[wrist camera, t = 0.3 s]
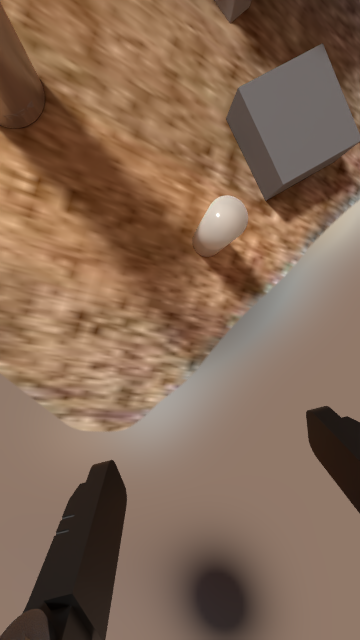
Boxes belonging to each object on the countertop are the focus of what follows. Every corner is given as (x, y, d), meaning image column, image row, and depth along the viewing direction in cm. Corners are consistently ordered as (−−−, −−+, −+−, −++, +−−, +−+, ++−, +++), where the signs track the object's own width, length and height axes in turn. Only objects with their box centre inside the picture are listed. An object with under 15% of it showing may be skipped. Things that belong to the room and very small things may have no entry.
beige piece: (186, 234, 35) (199, 208, 25) (212, 220, 35) (235, 187, 25) (201, 262, 36) (219, 247, 26) (227, 247, 36) (255, 226, 26)
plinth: (225, 118, 34) (238, 87, 29) (298, 79, 35) (322, 43, 30) (265, 200, 36) (283, 184, 31) (334, 161, 37) (361, 140, 32)
